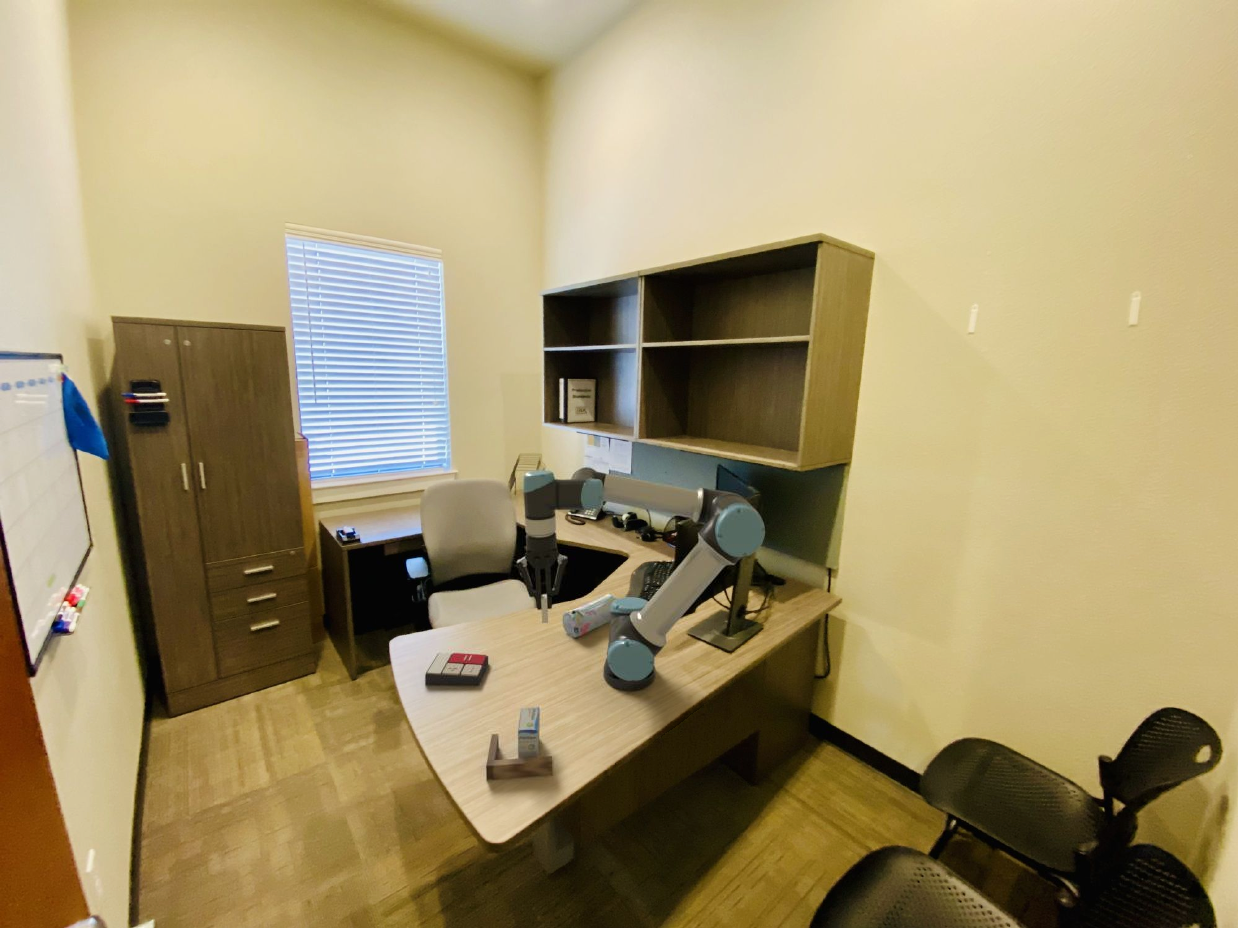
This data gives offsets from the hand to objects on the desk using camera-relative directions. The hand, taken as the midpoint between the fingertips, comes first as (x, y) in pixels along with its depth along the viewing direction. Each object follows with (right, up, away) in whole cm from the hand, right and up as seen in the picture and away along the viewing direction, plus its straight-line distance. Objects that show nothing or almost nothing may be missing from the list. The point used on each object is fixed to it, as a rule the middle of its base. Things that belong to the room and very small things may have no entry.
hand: (545, 620), depth 127 cm
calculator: (-28, -21, +16) cm, 38 cm away
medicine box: (-2, -26, -13) cm, 30 cm away
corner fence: (-3, -27, -16) cm, 31 cm away
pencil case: (+9, -17, +44) cm, 48 cm away
